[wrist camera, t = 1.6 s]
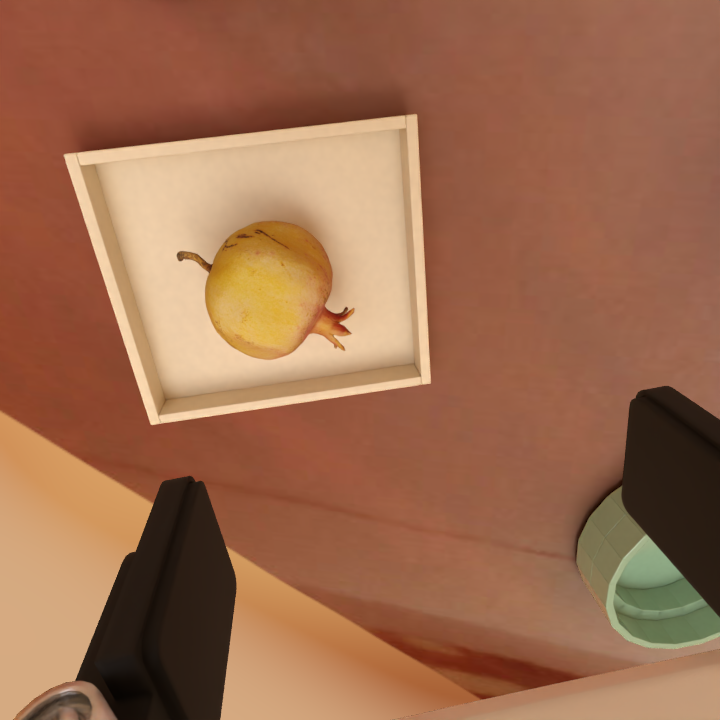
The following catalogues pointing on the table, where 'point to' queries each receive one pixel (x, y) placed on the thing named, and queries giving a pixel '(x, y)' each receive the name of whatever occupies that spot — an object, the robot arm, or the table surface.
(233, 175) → the tray
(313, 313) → the fruit
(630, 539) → the bowl
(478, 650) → the table surface
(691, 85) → the table surface
